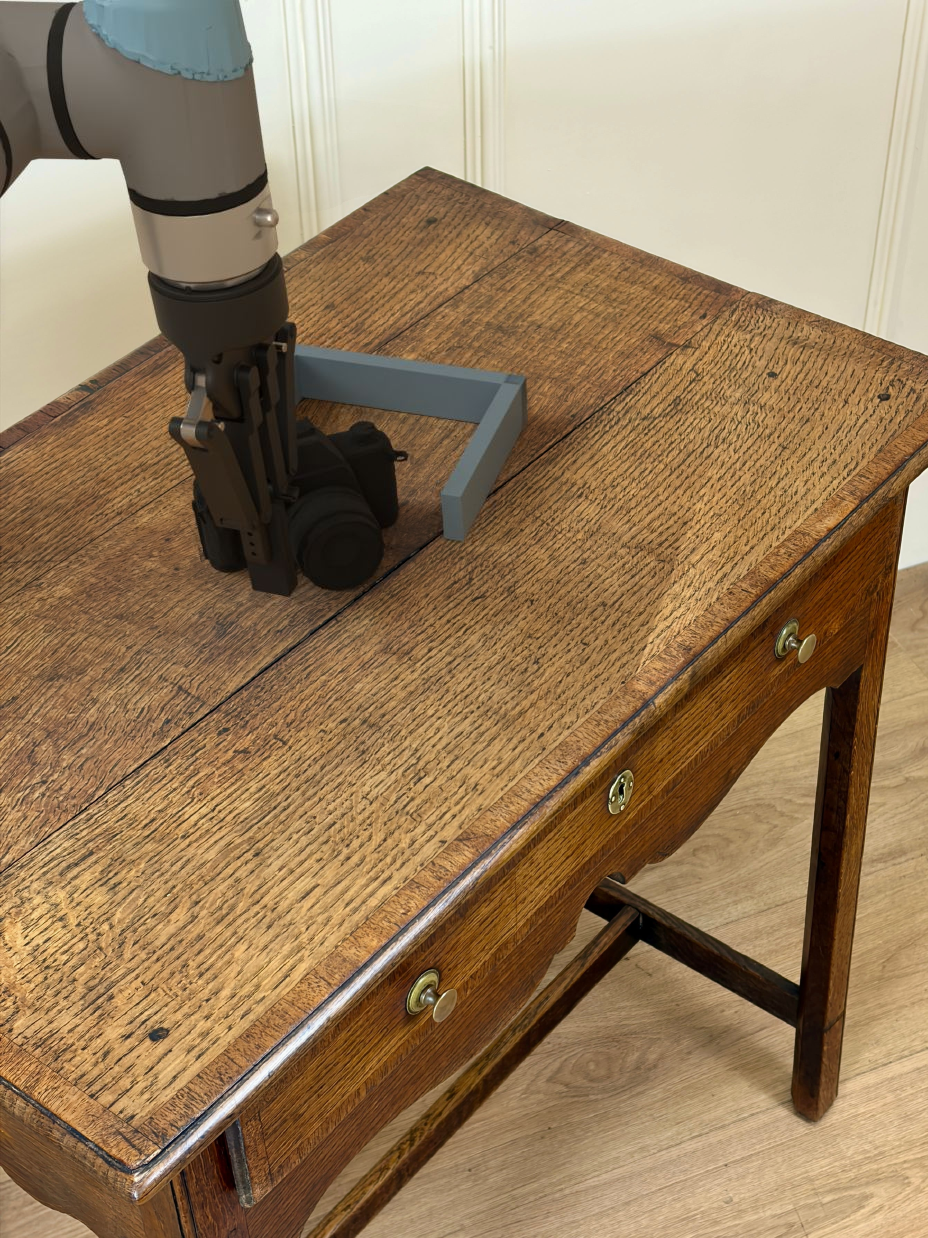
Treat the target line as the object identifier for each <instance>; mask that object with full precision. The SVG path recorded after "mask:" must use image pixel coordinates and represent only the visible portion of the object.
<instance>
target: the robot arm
mask: <svg viewBox="0 0 928 1238" xmlns="http://www.w3.org/2000/svg"><path fill="white" fill-rule="evenodd" d="M244 21H245V20H244V16H243V11H242V8H241V2H240V0H79V1H78V2H77V1H70V2H69V1H67V2H65V1H21V0H18V1H17V0H0V199H1V198H2V197H3V196H4V194H5V193H7V191H8V190H9V188H10V187H11V186H12V185H13V184H14V183H15V182H16V180H17V179H19V177H20V176H21V174H22V173H23V172H24V171H25V170H26V168H27V167H28V166H29V165H30V163H31V162H32V161H37V160H82V161H83V160H85V161H100V160H103V159H107V160H108V159H109V160H111V159H112V160H118V161H119V164H120V167H121V171H122V174H123V177H124V181H125V184H126V185H125V186H126V190H127V195H128V198H129V204H130V208H131V213H132V217H133V223H134V227H135V233H136V237H137V242H138V246H139V252H140V255H141V261H142V263H143V265H144V266H145V267H146V269H148V271H147V276H146V278H147V284H148V288H149V292H150V296H151V301H152V306H153V309H154V313H155V314H154V315H155V318H156V319H155V320H156V324H157V326H158V329H159V331H160V333H161V334H162V335H163V337H164V338H165V339H166V340H167V341H169V342H170V343H171V344H172V345H173V346H175V348H177V349H178V351H180V353H181V355H183V363H184V365H183V366H184V371H183V372H184V373H183V383H184V387H185V389H186V392H187V393H188V395H190V398H189V401H188V402H189V403H188V405H187V408H186V412H185V415H184V417H183V416H177V415H173V416H172V417H171V418H170V420H169V421H168V422H169V423H168V434H169V436H170V437H171V438H172V439H173V440H174V442H176V443H177V444H178V445H179V446H180V447H181V448H182V450H183V452H184V454H185V456H186V458H187V461H188V463H189V465H190V468H191V470H192V473H193V476H194V477H195V478H196V480H197V482H198V484H199V487H200V489H201V491H202V494H203V496H204V498H205V501H206V503H207V505H208V508H209V510H210V512H211V515H212V517H213V519H214V522H215V524H216V525H217V526H220V527H225V528H231V529H237V530H240V534H241V539H242V544H243V549H244V554H245V557H246V560H247V565H248V568H247V569H248V576H249V579H250V584H251V589H252V591H253V592H254V591H255V592H260V593H264V594H271V595H276V596H281V597H286V598H290V597H291V596H292V594H293V593H294V591H295V590H296V588H297V587H298V585H299V581H298V580H299V579H298V575H297V568H296V562H295V560H294V557H293V551H292V546H291V540H290V534H289V528H288V523H287V517H286V511H285V506H284V501H289V502H295V501H296V500H297V498H298V495H299V488H298V487H292V486H288V482H287V476H294V475H295V474H296V472H297V468H298V455H297V430H296V422H297V409H296V407H297V406H296V404H295V379H294V354H295V344H297V333H298V328H297V327H298V326H297V324H296V323H295V322H294V321H288V317H289V314H290V302H289V297H288V296H289V295H288V289H287V283H286V276H285V270H284V264H283V260H282V256H281V255H280V253H279V252H278V251H277V250H278V248H279V239H278V232H277V226H278V224H279V221H280V216H279V212H278V211H277V210H276V209H274V207H273V200H272V193H271V188H270V184H269V176H268V175H269V172H268V165H267V162H266V155H265V147H264V140H263V133H262V125H261V118H260V112H259V103H258V95H257V90H256V89H257V88H256V82H255V74H254V67H253V66H254V65H253V63H254V55H253V49H252V45H251V43H250V41H249V40H248V36H247V31H246V26H245V22H244ZM282 452H283V453H282Z"/></svg>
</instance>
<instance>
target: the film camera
mask: <svg viewBox="0 0 928 1238" xmlns="http://www.w3.org/2000/svg"><path fill="white" fill-rule="evenodd" d="M296 430H297V455H298V468H297V472H296V474H295V475H294V476H287V482H288V486H292V487H298V488H299V495H298V498H297V500H296V501H295V502H289V501H284V506H285V511H286V517H287V523H288V528H289V534H290V540H291V546H292V551H293V557H294V563H295V565H296V566H297V567H298V570H299V571H300V572H301V574H303V576H305V577H306V578H307V579H309V581H310V582H311V583H312V584H313V585H314V586H316V587H318V588H320V589H322V590H326V591H333V592H341V591H346V590H350V589H354V588H357V587H358V586H361V585H363V584H364V583H366V582H367V581H368V580H369V579H370V578H372V577H373V575H374V574H375V573H376V572H377V570H378V569H379V567H380V565H381V564H382V562H383V559H384V557H385V553H384V552H385V547H386V544H385V542H384V539H383V531H382V530H383V529H385V528H387V527H392V525H394V524H395V523H396V522H397V520H398V517H399V511H400V504H399V497H398V485H397V483H398V482H397V476H396V466H395V462H398V463H403V462H407V461H408V460H409V453H408V452H407V451H406V450H396V449H395V448H393V445H392V442H391V439H390V438H389V436H388V434H386V433H385V432H384V431H382V430H381V429H378V428H377V427H376V425H375V424H374V422H373V421H369V420H358V421H356V422H354V423H352V425H350V426H349V429H348V430H345V431H340V432H335V433H331V434H327V435H326V434H325V433H324V431H322V429H320V428H318V427H316V426H314V424H313V422H312V421H311V419H310V418H309V417H308V415H306V416H303V418H302V419H300V420H296ZM282 453H283V452H282ZM399 457H400V459H398V458H399ZM192 496H193V500H191V508H192V512H193V513H194V519H195V524H196V526H197V527H196V528H197V531H198V532H197V533H198V536H199V540H200V545H201V548H202V554H203V557H204V560H208V561H209V563H210V566H211V567H212V568H213V569H214V570H216V571H219V572H221V573H235V572H238V571H242V570H245V569H248V565H247V560H246V557H245V554H244V549H243V544H242V539H241V534H240V530H237V529H231V528H225V527H220V526H217V525H216V524H215V522H214V519H213V517H212V515H211V512H210V510H209V508H208V505H207V503H206V501H205V498H204V496H203V494H202V491H201V489H200V487H199V484H198V482H197V480H196V477H195V478H194V479H193V481H192Z"/></svg>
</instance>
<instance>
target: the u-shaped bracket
mask: <svg viewBox="0 0 928 1238" xmlns="http://www.w3.org/2000/svg"><path fill="white" fill-rule="evenodd" d="M294 379H295V404H296V407H297V406H298V405H299V403H300V402H301V400H302V399H303V398H304V399H311V400H318V401H323V402H324V401H325V402H331V403H332V402H333V403H339V404H345V405H352V406H358V407H359V406H360V407H364V408H372V409H378V410H384V411H385V410H386V411H391V412H399V413H406V414H413V415H420V416H425V417H434V418H440V419H446V420H454V421H460V422H465V423H466V422H467V423H474V424H478V426H477V428H476V429H475V431H474V433H473V435H472V437H471V438H470V440H469V443H468V444H467V445H466V448H465V449H464V451H463V453H462V454H461V456H460V458H459V460H458V462H457V463H456V465H455V466H454V469H453V470H452V472H451V474H450V476H449V478H448V479H447V481H446V483H445V484H444V487H443V488H442V490H441V492H440V504H441V515H442V516H441V517H442V527H443V528H442V529H443V539H444V540H450V541H456V542H462V543H463V542H465V540H466V538H467V536H468V535H469V532H470V531H471V529H472V527H473V524H474V523H475V521H476V519H477V517H478V515H479V513H480V512H481V509H482V508H483V505H484V504H485V502H486V500H487V499H488V496H489V494H490V492H491V490H492V489H493V487H494V484H495V483H496V481H497V478H498V477H499V475H500V473H501V471H502V469H503V467H504V466H505V463H506V461H507V459H508V458H509V456H510V454H511V452H512V450H513V448H514V447H515V444H516V443H517V440H518V439H519V437H520V435H521V433H522V431H523V429H524V427H525V425H526V423H527V421H528V393H527V392H528V391H527V390H528V389H527V388H528V387H527V376H526V375H523V374H516V373H510V372H509V373H507V372H500V371H492V370H486V369H479V368H471V367H465V366H459V365H450V364H443V363H436V362H430V361H429V362H428V361H421V360H414V359H407V358H406V359H405V358H402V357H401V358H400V357H393V356H385V355H378V354H371V353H364V352H356V351H351V350H350V351H349V350H344V349H335V348H328V347H320V346H314V345H306V344H300V343H296V344H295V354H294Z"/></svg>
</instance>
